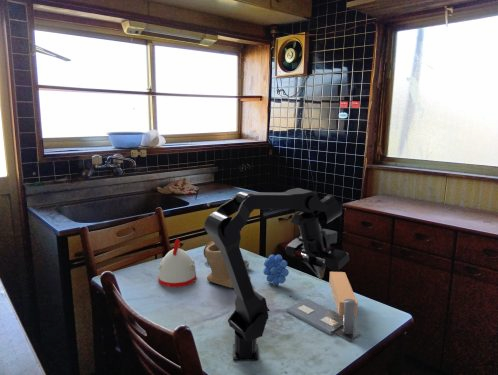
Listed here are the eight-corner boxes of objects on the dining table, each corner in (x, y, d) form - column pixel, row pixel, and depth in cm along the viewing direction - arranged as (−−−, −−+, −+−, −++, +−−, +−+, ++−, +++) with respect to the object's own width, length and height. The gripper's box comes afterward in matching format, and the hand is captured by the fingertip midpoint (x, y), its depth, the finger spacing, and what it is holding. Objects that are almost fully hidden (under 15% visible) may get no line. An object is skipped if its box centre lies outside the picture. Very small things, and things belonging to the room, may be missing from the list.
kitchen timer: (198, 271, 149) (197, 235, 146) (192, 287, 135) (192, 247, 133) (163, 271, 149) (162, 234, 146) (154, 286, 136) (152, 247, 133)
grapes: (295, 286, 136) (296, 255, 134) (282, 292, 132) (283, 260, 130) (271, 276, 145) (272, 246, 142) (259, 281, 140) (259, 251, 138)
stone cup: (198, 283, 139) (197, 244, 136) (220, 272, 148) (220, 235, 145) (229, 295, 130) (229, 254, 127) (251, 283, 139) (251, 244, 136)
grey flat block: (360, 335, 107) (360, 333, 107) (350, 341, 104) (350, 339, 104) (345, 327, 111) (345, 325, 111) (335, 334, 108) (335, 332, 107)
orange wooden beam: (358, 334, 105) (360, 304, 104) (339, 333, 106) (341, 303, 104) (343, 294, 129) (345, 268, 127) (328, 293, 129) (330, 268, 127)
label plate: (350, 322, 113) (351, 318, 113) (330, 335, 107) (330, 331, 107) (307, 301, 126) (307, 297, 126) (286, 311, 119) (286, 307, 119)
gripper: (356, 223, 102) (364, 271, 108) (303, 212, 116) (313, 255, 122) (332, 244, 96) (342, 294, 101) (279, 230, 110) (290, 274, 115)
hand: (321, 277), depth 110 cm, fingers closed
